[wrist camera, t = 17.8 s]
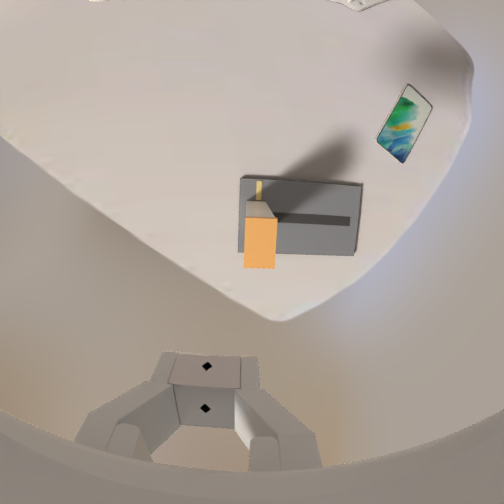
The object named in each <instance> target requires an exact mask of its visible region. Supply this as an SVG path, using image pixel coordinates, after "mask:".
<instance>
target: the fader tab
mask: <svg viewBox="0 0 504 504" xmlns="http://www.w3.org/2000/svg"><path fill="white" fill-rule="evenodd" d="M277 220H278V219H277V217H274V215H273V213H272V212H271V210H270V208H269V206H268V205H267V203H266V202H263V201H246V216H245V241H244V268H270V269H274V268H275V253H276V237H277Z"/></svg>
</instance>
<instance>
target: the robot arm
mask: <svg viewBox="0 0 504 504" xmlns="http://www.w3.org/2000/svg"><path fill="white" fill-rule="evenodd" d="M331 1H334V2H338V3H342V4H344V5H346V6H348V7H349V8H351V9H353V10H355V11H362V10H365V9H367V8H369V7H372V6H374V5H377V4H379V3H382V2H385V1H387V0H331ZM361 4H362V5H361ZM240 373H241V377H240ZM180 425H187V426H201V427H214V428H215V427H216V428H228V429H235V431H236V433H237V434H238V435H239V437H240V438H241V439H242V441H243V442H244V444H245V445H246V446H247V448H248V449H249V450H250V451H249V465H248V471H244V472H243V471H219V470H206V469H195V468H186V467H178V466H172V465H164V464H159V463H153V460H152V458H151V456H150V454H152V453H153V452H154V451H155V450H156V449H157V448H158V447H159V446H160V445H161V444H162V443H163V442H165V441H166V440H167V439H168V438H169V437H170V436H171V435H172V434H173V433H174V432H175V431H176V430H177V429H178V428H179V427H180ZM0 504H504V409H503V410H502V411H500V412H498V413H496V414H494V415H492V416H491V417H488V418H487V419H484V420H482V421H480V422H478V423H476V424H474V425H472V426H469V427H467V428H465V429H462V430H460V431H458V432H455V433H453V434H450V435H448V436H445V437H443V438H440V439H437V440H434V441H432V442H429V443H426V444H423V445H420V446H417V447H413V448H410V449H407V450H403V451H400V452H396V453H392V454H389V455H385V456H381V457H376V458H372V459H367V460H362V461H357V462H352V463H346V464H341V465H334V466H327V467H322V463H321V459H320V454H319V450H318V446H317V441H316V437H315V433H314V432H312V431H311V430H310V429H309V428H308V427H306V426H305V425H304V424H303V423H302V422H301V421H299V420H298V419H297V418H296V417H295V416H293V415H292V414H291V413H290V412H289V411H288V410H287V409H286V408H285V407H283V406H282V405H281V404H280V403H279V402H278V401H277V400H276V399H275V398H273V397H272V396H271V395H270V394H269V393H268V392H267V391H266V390H265V389H260V383H259V367H258V357H257V355H253V356H250V355H249V356H223V355H208V354H197V353H186V352H175V351H165V350H164V351H163V352H162V353H161V356H160V358H159V361H158V363H157V365H156V368H155V370H154V373H153V375H152V378H151V380H150V382H148V381H145V382H143V383H141V384H140V385H138V386H136V387H134V388H133V389H131V390H129V391H128V392H126V393H124V394H122V395H121V396H119V397H117V398H115V399H114V400H112V401H110V402H108V403H106V404H105V405H103V406H101V407H99V408H98V409H96V410H94V411H92V412H90V413H89V414H88V416H87V418H86V419H85V421H84V423H83V425H82V427H81V429H80V431H79V432H78V434H77V436H76V438H75V440H74V441H71V440H68V439H66V438H63V437H60V436H58V435H55V434H52V433H50V432H48V431H45V430H43V429H41V428H38V427H36V426H34V425H32V424H29V423H27V422H25V421H23V420H21V419H19V418H17V417H15V416H13V415H11V414H9V413H7V412H6V411H4V410H2V409H0Z"/></svg>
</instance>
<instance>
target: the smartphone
mask: <svg viewBox="0 0 504 504" xmlns="http://www.w3.org/2000/svg"><path fill="white" fill-rule="evenodd" d="M431 111H432V105H431V104H430V103H429V102H428V101H427V100H426V99H425V98H424V97H423V96H422V95H421V94H420V93H419V92H418V91H416V90H415V89H414V88H413V87H412V86H411V85H410V84H406V85H405V86H404V88H403V90H402V92H401V94H400V95H399V97H398V99H397V101H396V102H395V104H394V106H393V108H392V109H391V111H390V113H389V114H388V116H387V118H386V120H385V121H384V123H383V125H382V127H381V128H380V130H379V132H378V134H377V135H376V137H375V143H376V144H377V145H378V146H380V147H381V148H382V149H383V150H384V151H386V152H387V153H388V154H389V155H390V156H391V157H393V158H394V159H395V160H396V161H397V162H398V163H400V164H403V163H404V162H405V161H406V159H407V157H408V155H409V154H410V152H411V150H412V148H413V146H414V144H415V142H416V141H417V139H418V137H419V135H420V133H421V131H422V129H423V127H424V125H425V123H426V121H427V119H428V117H429V115H430V113H431Z"/></svg>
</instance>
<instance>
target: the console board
mask: <svg viewBox="0 0 504 504" xmlns="http://www.w3.org/2000/svg"><path fill="white" fill-rule="evenodd" d="M360 195H361V187H359V186H349V185H339V184H328V183H316V182H303V181H288V180H270V179H247V178H240V199H239V231H238V252H243V253H244V241H245V216H246V201H263V202H266V203H267V205H268V206H269V208H270V210H271V212H272V213H273V215H274V217H277V219H278V220H277V237H276V253H275V254H305V255H336V256H354V251H355V243H356V235H357V226H358V217H359V207H360Z"/></svg>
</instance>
